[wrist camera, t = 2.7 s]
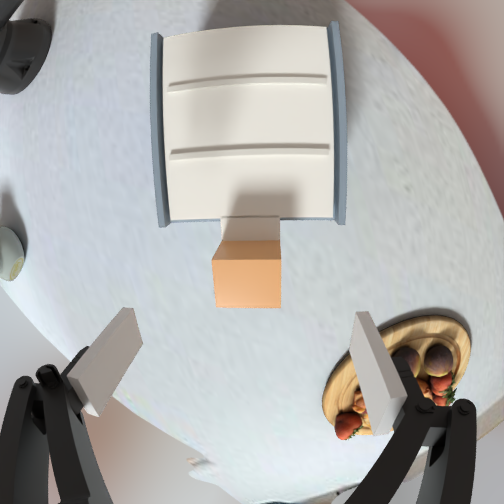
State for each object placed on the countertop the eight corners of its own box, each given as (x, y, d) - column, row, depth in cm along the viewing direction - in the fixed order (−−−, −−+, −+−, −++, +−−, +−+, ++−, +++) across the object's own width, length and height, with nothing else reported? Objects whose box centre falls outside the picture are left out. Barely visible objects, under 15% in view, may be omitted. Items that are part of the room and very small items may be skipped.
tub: (189, 67, 30) (151, 33, 18) (317, 61, 29) (338, 21, 17) (195, 201, 36) (158, 227, 24) (321, 199, 35) (345, 224, 23)
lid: (172, 46, 21) (143, 20, 14) (321, 37, 20) (336, 5, 13) (186, 270, 29) (163, 305, 22) (324, 270, 28) (337, 306, 21)
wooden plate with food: (332, 441, 53) (336, 469, 45) (305, 348, 43) (311, 385, 35) (455, 396, 48) (468, 419, 40) (473, 287, 38) (499, 310, 30)
